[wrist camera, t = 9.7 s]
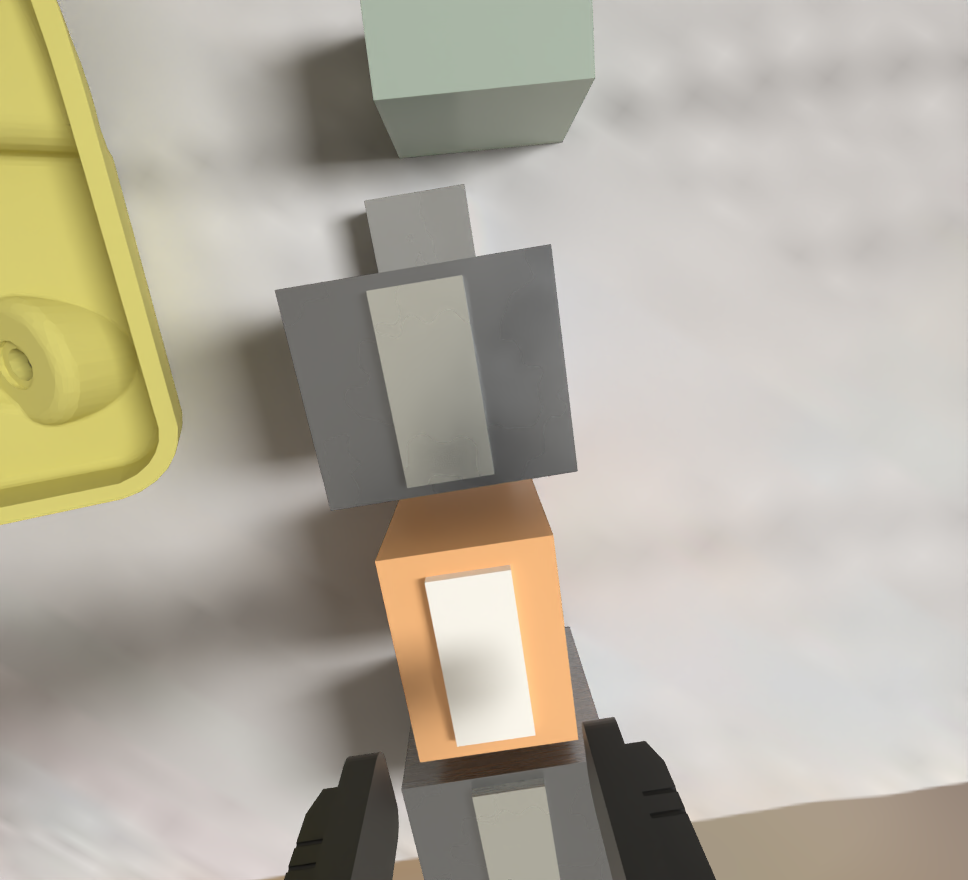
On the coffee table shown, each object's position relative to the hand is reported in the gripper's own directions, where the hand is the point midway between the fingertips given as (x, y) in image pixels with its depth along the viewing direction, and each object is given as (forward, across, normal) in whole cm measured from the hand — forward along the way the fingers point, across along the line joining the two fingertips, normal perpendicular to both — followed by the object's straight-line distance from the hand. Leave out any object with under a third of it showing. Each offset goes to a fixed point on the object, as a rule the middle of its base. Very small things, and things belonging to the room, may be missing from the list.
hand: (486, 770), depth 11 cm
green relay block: (+11, -3, -17) cm, 21 cm away
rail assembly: (+11, 0, -1) cm, 11 cm away
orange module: (+10, 0, 0) cm, 10 cm away
